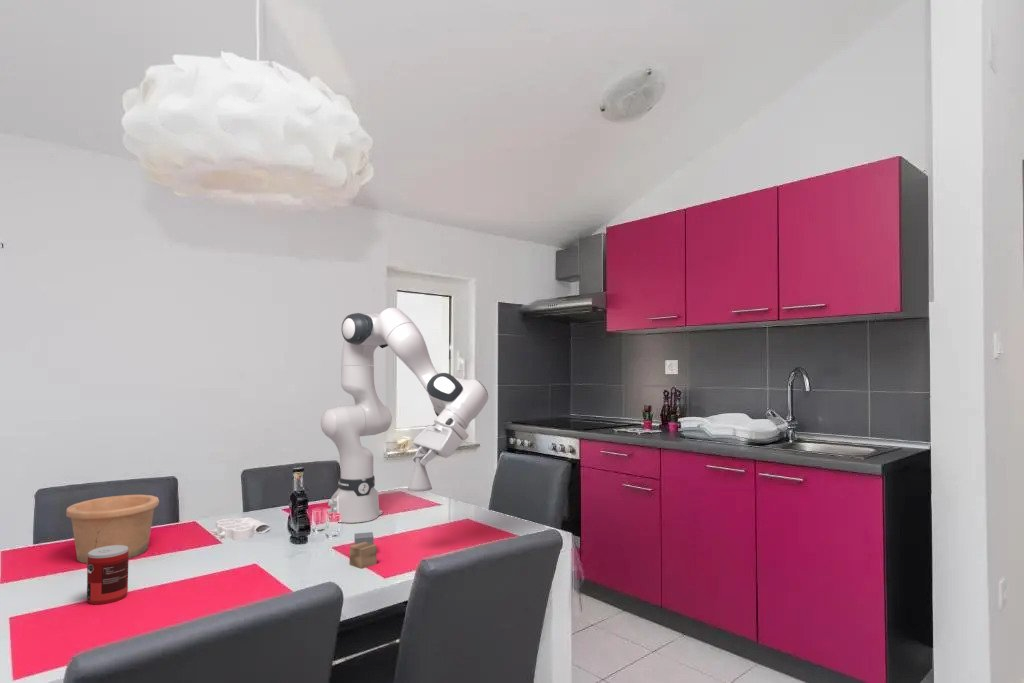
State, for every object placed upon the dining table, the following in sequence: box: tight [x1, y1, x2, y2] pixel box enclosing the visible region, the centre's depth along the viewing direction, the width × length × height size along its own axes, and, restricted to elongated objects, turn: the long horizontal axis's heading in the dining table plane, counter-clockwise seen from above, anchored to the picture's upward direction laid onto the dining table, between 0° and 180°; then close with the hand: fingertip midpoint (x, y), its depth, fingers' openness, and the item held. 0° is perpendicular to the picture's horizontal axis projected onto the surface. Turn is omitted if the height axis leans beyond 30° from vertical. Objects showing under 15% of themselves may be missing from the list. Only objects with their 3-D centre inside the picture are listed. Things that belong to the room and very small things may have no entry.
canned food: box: [86, 545, 129, 605], centre depth 137 cm, size 8×8×11 cm
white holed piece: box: [210, 517, 270, 541], centre depth 189 cm, size 3×18×15 cm
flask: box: [407, 453, 433, 493], centre depth 170 cm, size 7×7×10 cm
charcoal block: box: [353, 531, 375, 545], centre depth 169 cm, size 5×5×5 cm
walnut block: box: [349, 542, 378, 570], centre depth 159 cm, size 5×5×5 cm
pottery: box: [65, 494, 160, 564], centre depth 168 cm, size 22×22×14 cm
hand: (417, 462), depth 170 cm, fingers closed on flask, 3 cm apart
